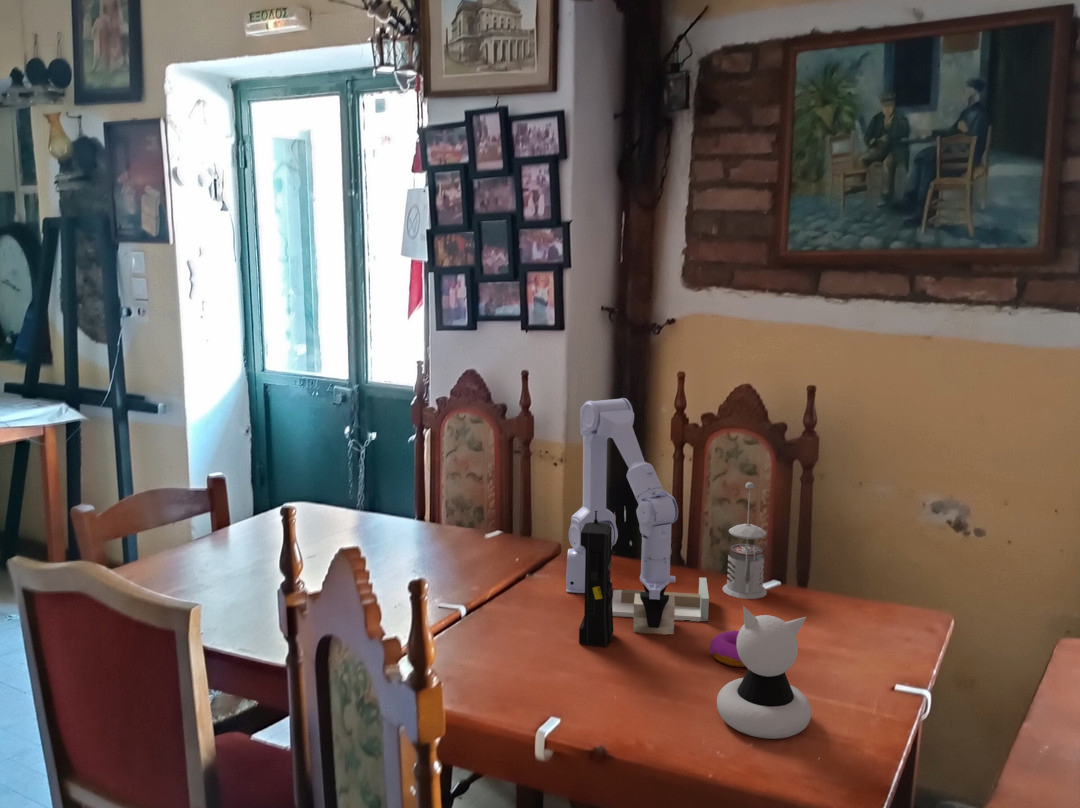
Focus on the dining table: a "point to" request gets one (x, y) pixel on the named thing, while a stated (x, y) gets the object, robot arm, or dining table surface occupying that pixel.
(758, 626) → the decorative figurine
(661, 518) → the robot arm
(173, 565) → the dining table surface
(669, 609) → the saddle block
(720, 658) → the donut
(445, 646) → the dining table surface
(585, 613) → the portable radio
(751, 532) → the french press
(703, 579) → the board
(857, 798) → the dining table surface
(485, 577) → the dining table surface
